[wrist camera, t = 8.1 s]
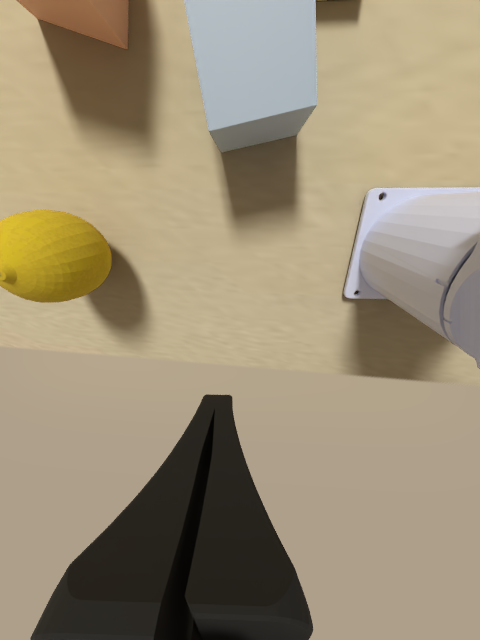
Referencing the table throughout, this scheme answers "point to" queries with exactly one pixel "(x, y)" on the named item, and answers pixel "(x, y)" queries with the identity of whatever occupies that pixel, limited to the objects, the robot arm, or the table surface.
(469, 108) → the table surface
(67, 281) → the lemon
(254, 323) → the table surface
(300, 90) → the slate block
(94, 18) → the terracotta block
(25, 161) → the table surface
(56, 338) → the table surface
